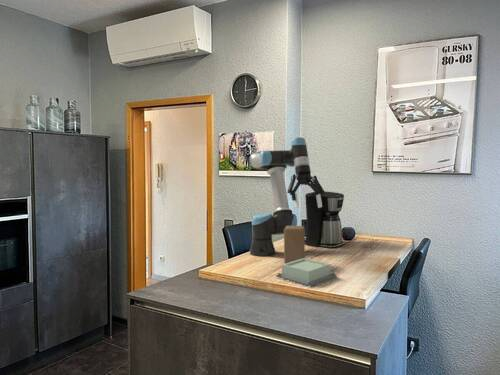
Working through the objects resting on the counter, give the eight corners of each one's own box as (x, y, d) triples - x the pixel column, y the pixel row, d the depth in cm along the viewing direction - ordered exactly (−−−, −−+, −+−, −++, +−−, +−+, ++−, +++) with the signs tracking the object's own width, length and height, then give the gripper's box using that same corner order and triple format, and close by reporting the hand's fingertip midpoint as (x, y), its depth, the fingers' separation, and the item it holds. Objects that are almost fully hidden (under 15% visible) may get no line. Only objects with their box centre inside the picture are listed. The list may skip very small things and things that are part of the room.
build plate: (276, 277, 185) (275, 264, 185) (303, 268, 199) (302, 256, 199) (309, 287, 171) (309, 273, 170) (336, 276, 184) (336, 263, 184)
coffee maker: (343, 249, 238) (343, 194, 235) (290, 247, 246) (290, 193, 244) (344, 241, 260) (344, 190, 257) (296, 239, 268) (295, 190, 266)
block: (303, 267, 201) (303, 229, 199) (284, 266, 203) (283, 228, 201) (304, 262, 211) (304, 225, 209) (286, 261, 213) (285, 225, 211)
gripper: (284, 162, 190) (290, 204, 184) (326, 165, 201) (334, 205, 194) (277, 168, 197) (282, 208, 190) (318, 170, 207) (325, 209, 201)
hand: (308, 207), depth 192 cm, fingers open, 13 cm apart
